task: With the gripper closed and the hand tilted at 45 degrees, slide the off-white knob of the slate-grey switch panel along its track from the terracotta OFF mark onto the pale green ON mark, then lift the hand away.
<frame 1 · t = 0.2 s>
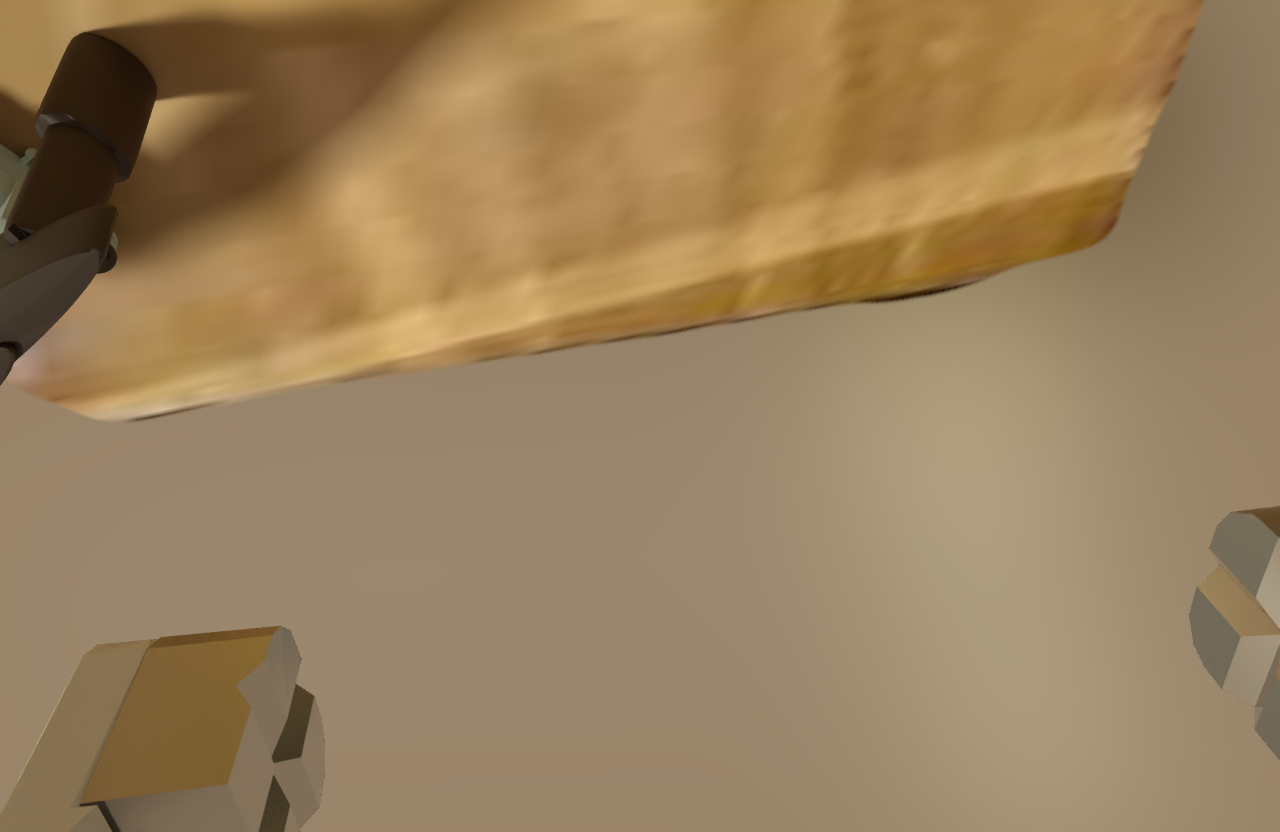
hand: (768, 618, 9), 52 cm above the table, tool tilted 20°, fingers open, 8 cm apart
stool: (3, 168, 61), on the table
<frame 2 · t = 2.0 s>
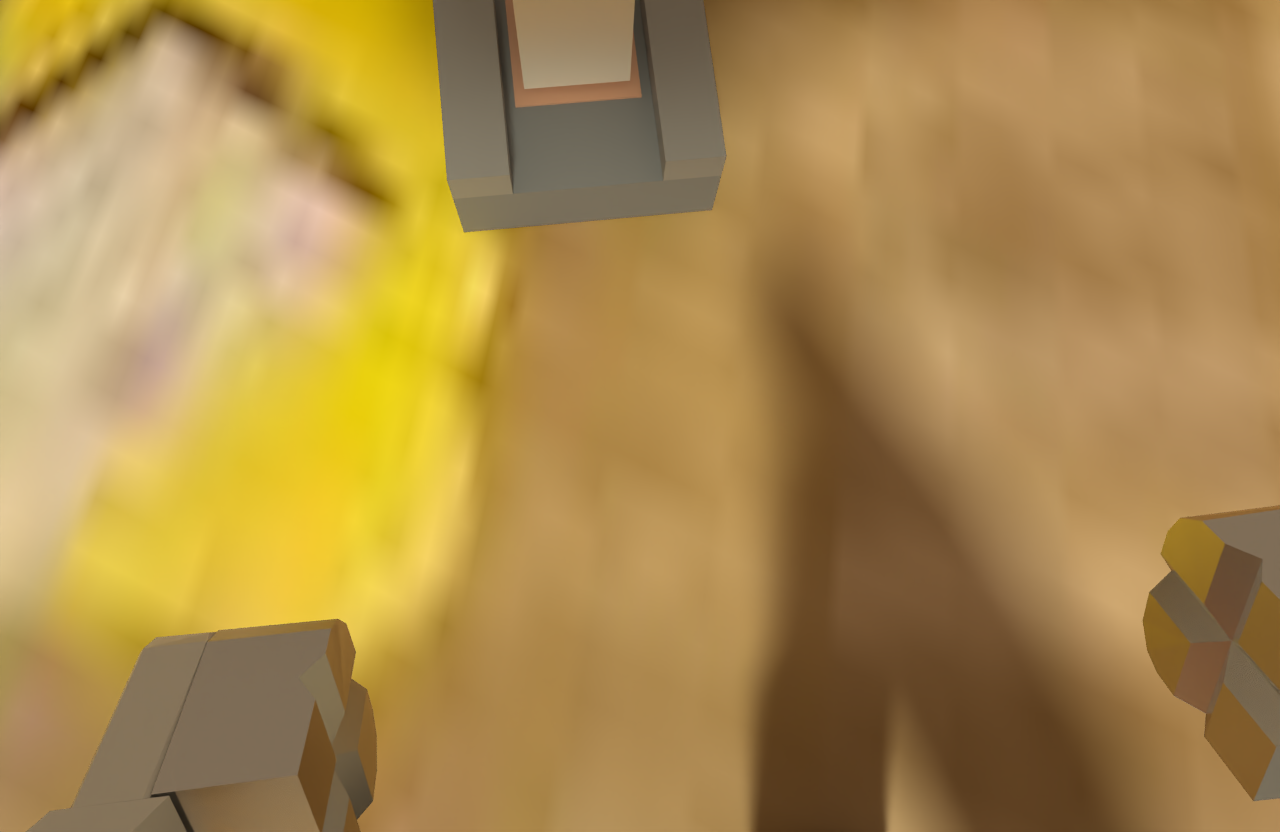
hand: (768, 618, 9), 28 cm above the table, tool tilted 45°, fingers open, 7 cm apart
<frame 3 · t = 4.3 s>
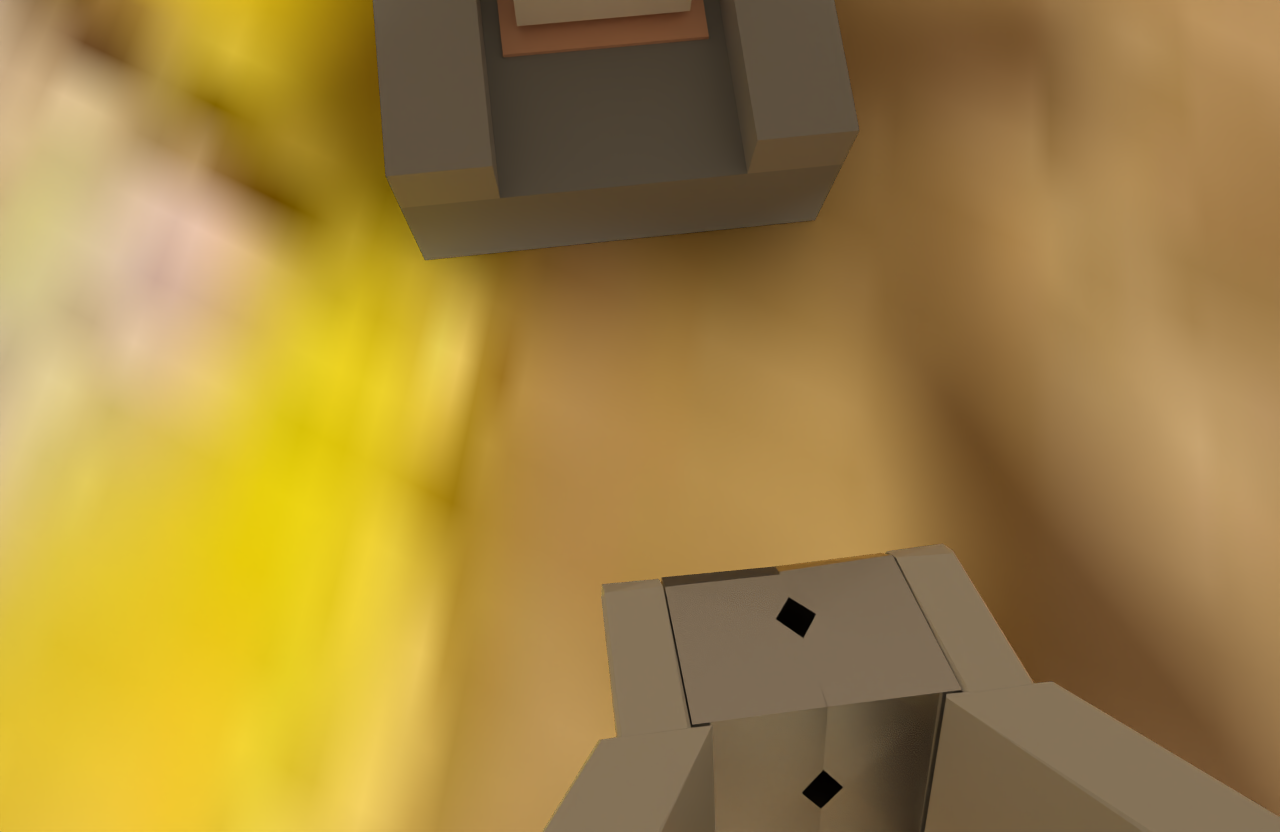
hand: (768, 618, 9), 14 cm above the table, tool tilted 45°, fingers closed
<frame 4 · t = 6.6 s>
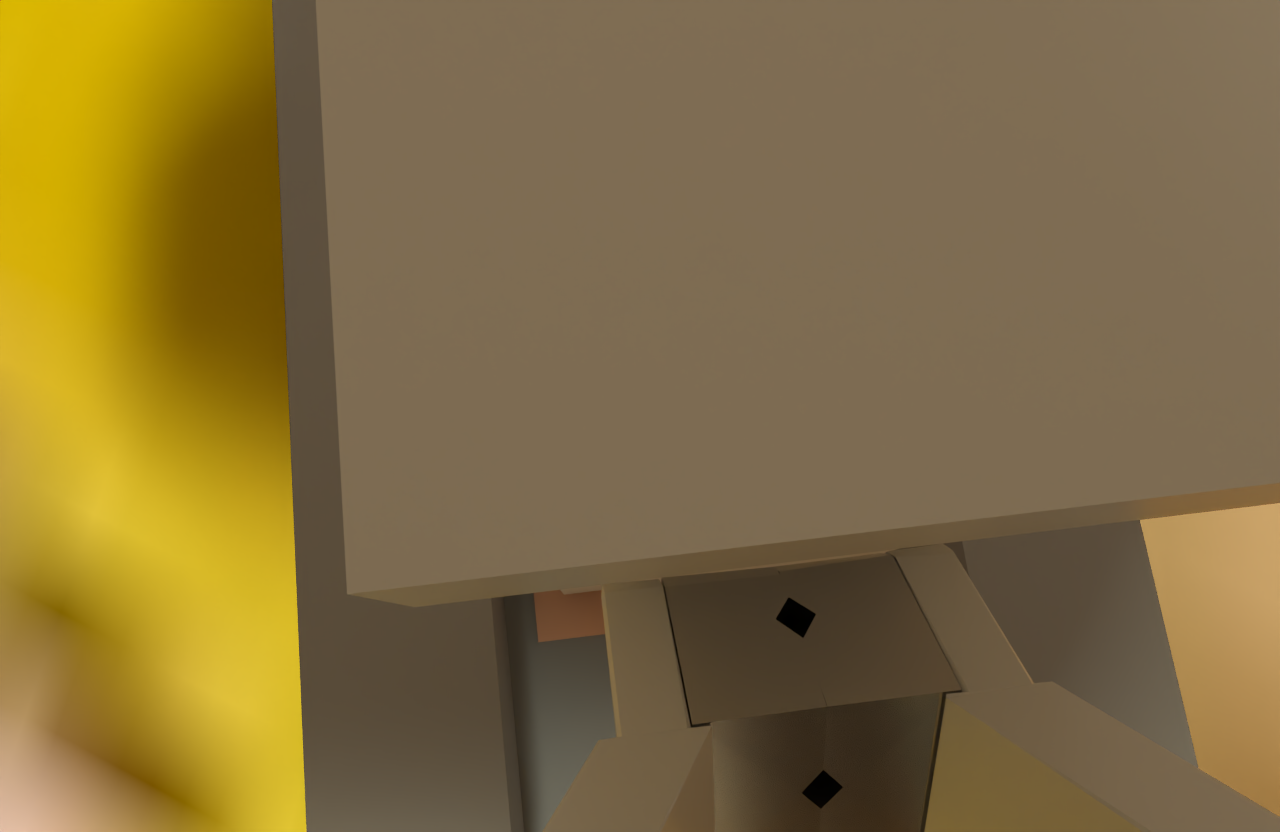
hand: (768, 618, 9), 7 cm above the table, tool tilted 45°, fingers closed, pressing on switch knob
switch panel: (643, 197, 17), on the table
switch knob: (748, 308, 8), point 8 cm above the table, slide at -4.9 cm, touching gripper
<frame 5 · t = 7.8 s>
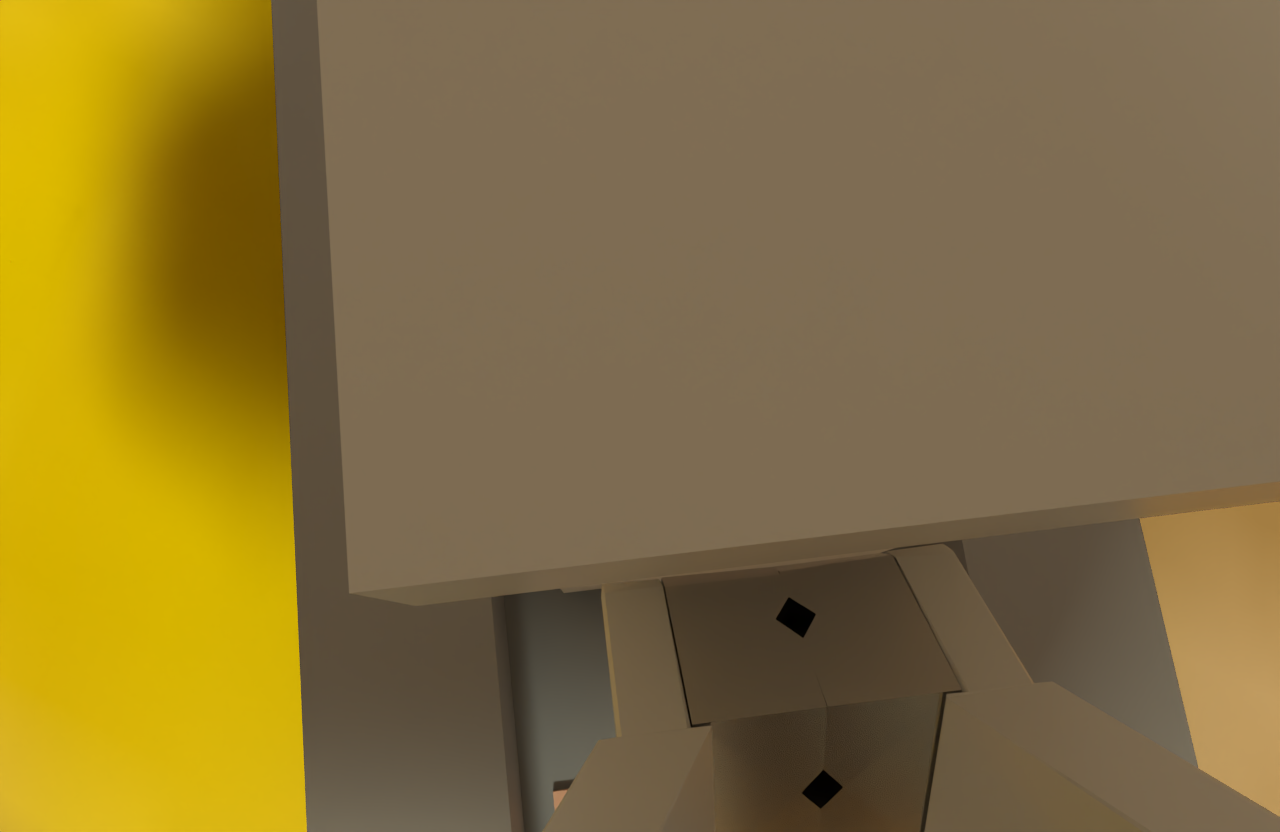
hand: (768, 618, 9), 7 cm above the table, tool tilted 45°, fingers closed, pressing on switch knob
switch panel: (694, 581, 16), on the table
switch knob: (748, 306, 8), point 8 cm above the table, slide at 1.9 cm, touching gripper
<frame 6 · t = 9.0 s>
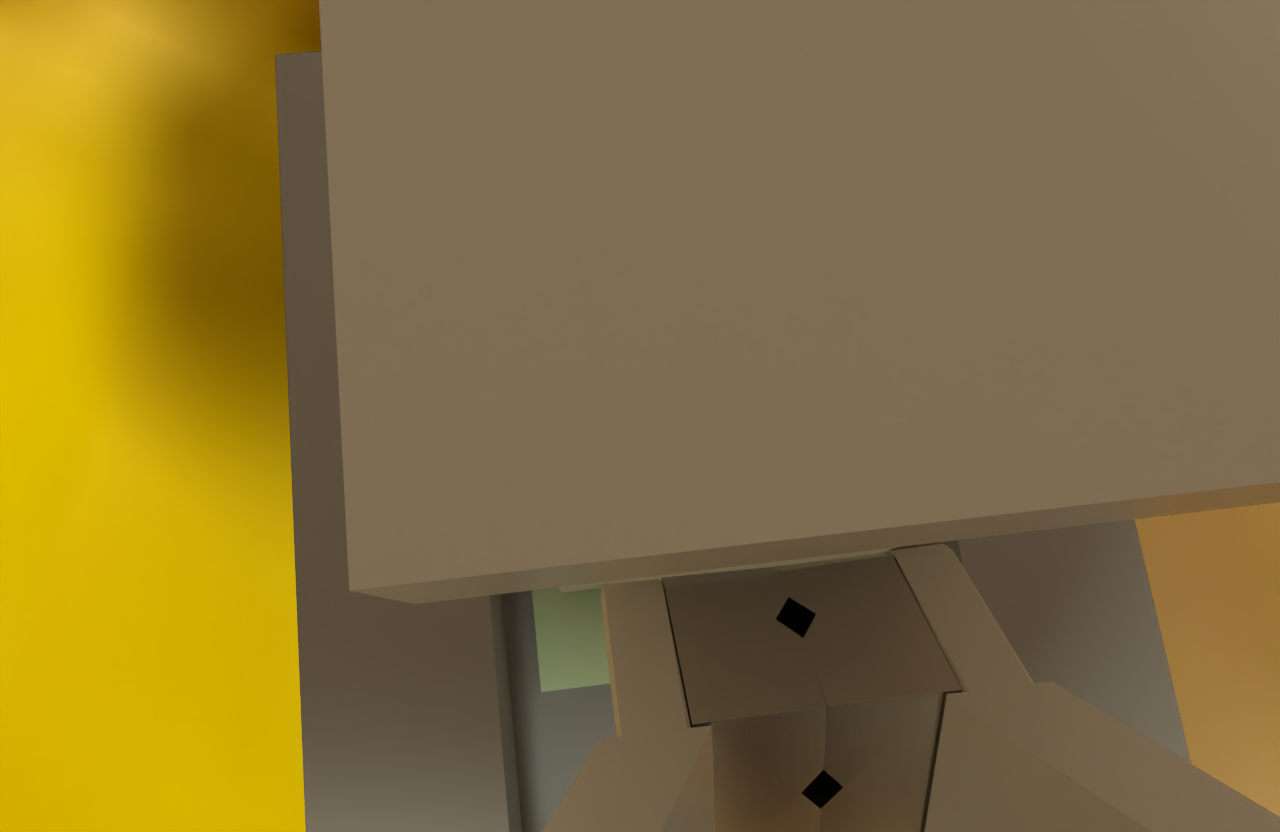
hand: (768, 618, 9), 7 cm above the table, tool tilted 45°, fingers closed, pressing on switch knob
switch panel: (724, 829, 15), on the table
switch knob: (745, 309, 9), point 8 cm above the table, slide at 5.7 cm, touching gripper
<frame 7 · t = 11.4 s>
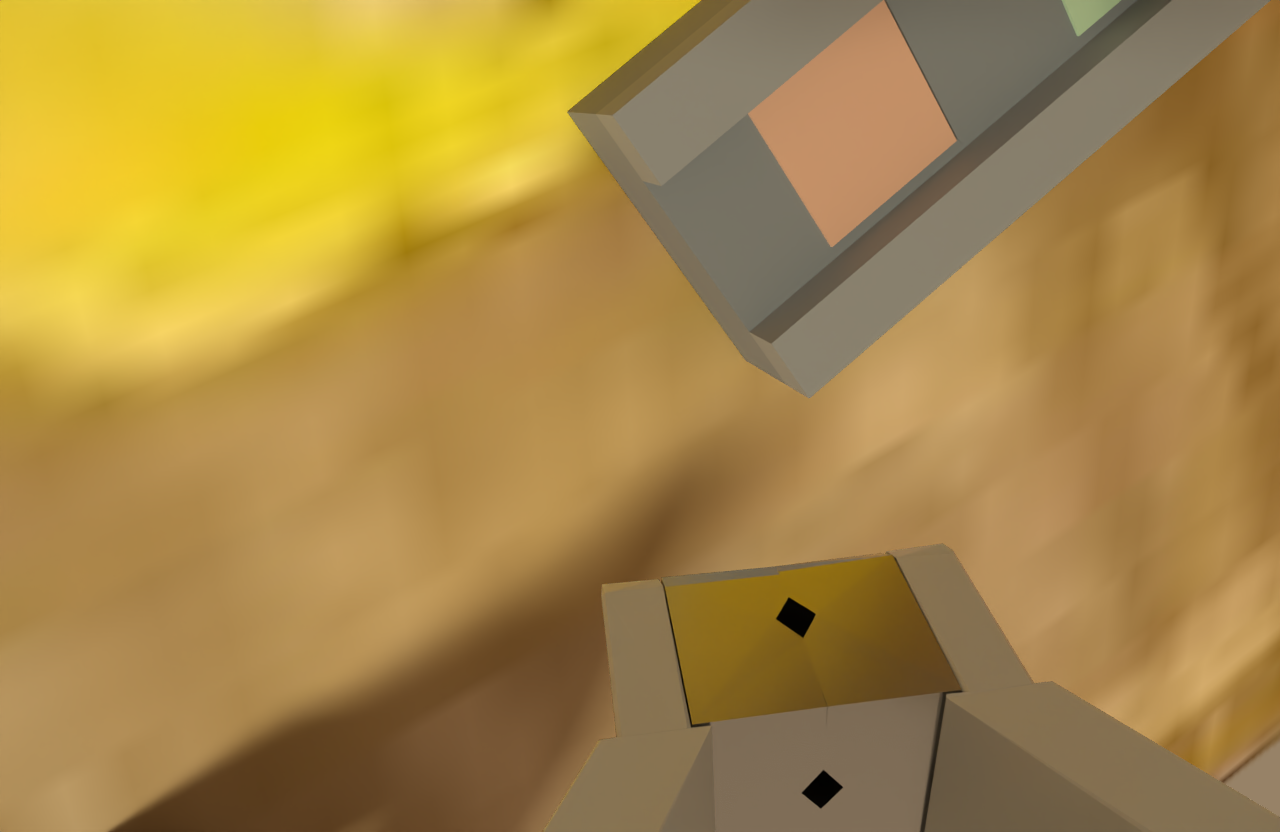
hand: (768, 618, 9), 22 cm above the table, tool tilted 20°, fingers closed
switch panel: (923, 24, 31), on the table
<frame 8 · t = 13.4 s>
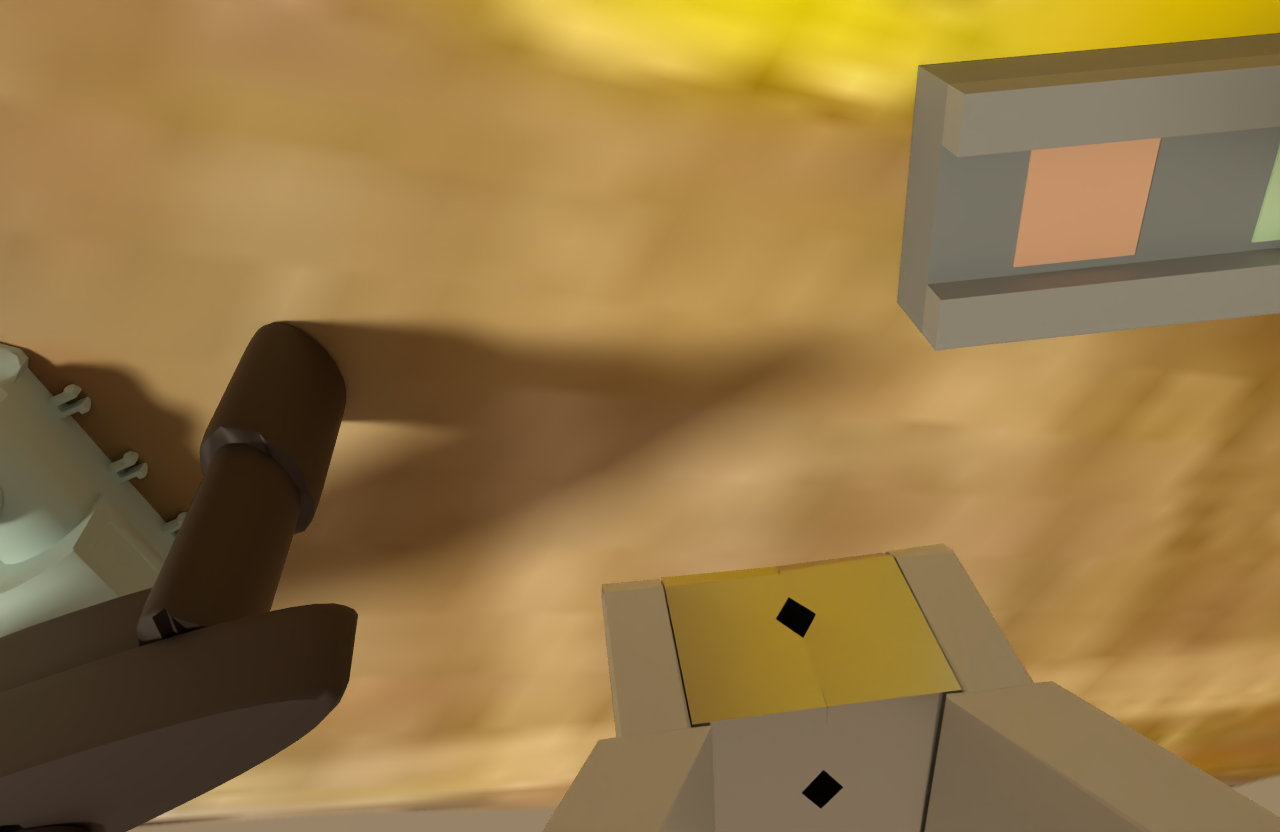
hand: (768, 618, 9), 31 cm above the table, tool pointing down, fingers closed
switch panel: (1163, 166, 41), on the table
stool: (78, 470, 43), on the table
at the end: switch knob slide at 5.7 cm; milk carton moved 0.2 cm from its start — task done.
